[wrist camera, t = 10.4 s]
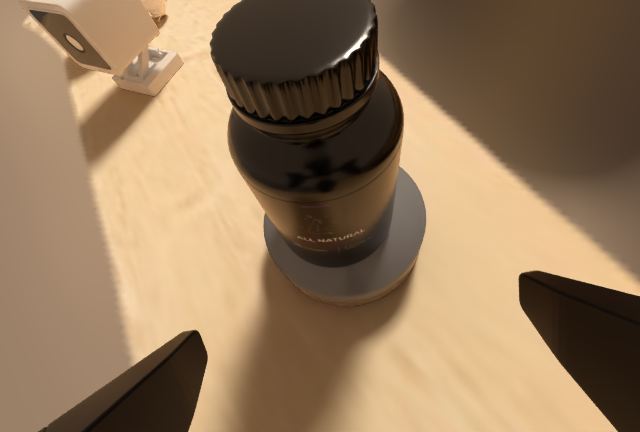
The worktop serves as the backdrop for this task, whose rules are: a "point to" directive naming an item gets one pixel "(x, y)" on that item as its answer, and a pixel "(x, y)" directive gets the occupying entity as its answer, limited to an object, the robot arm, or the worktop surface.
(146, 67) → the security camera
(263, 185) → the supplement bottle
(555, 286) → the robot arm
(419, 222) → the stand
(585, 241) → the worktop surface
